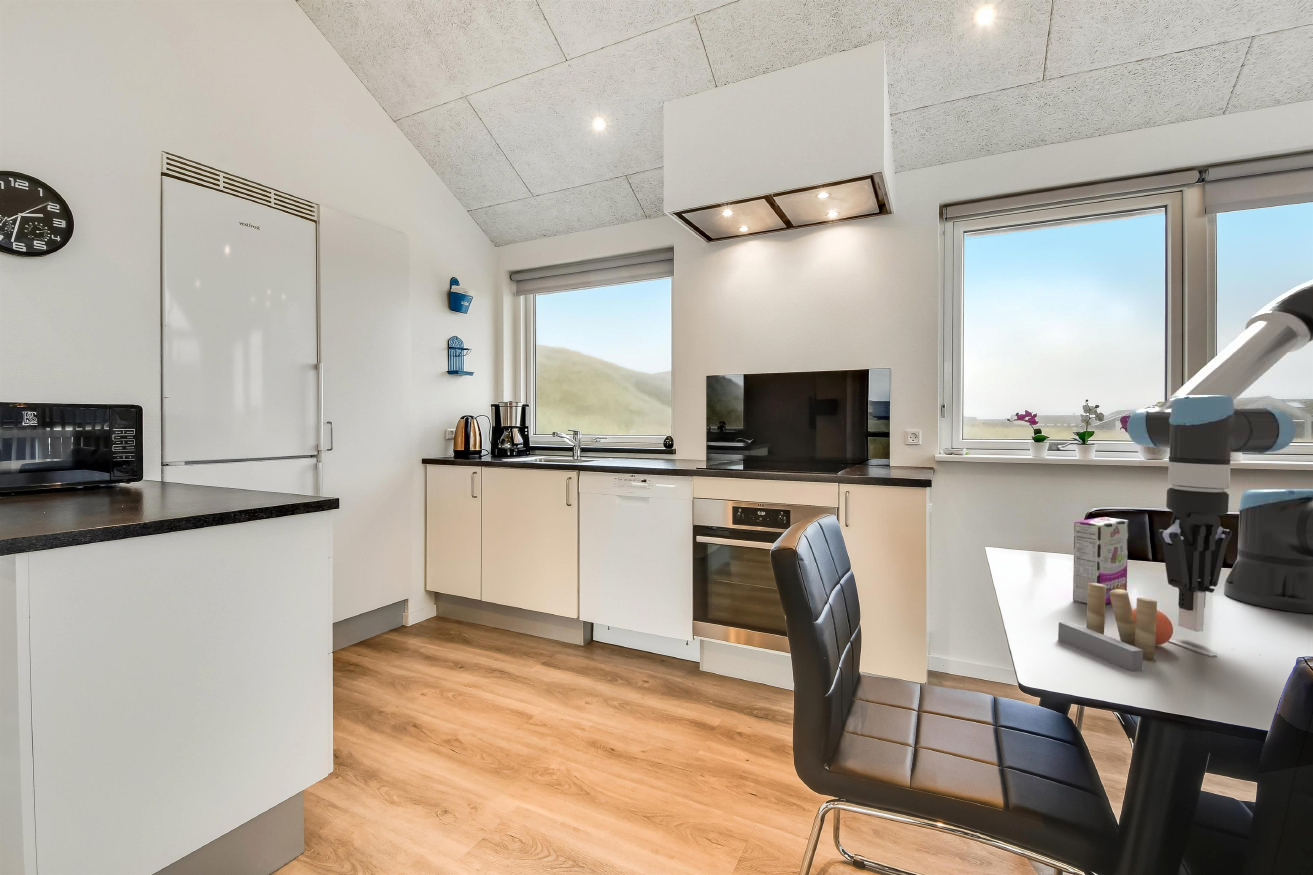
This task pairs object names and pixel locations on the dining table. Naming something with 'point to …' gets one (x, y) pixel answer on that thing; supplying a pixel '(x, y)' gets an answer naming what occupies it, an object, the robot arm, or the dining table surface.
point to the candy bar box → (1100, 556)
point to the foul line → (1191, 648)
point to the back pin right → (1096, 607)
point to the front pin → (1123, 616)
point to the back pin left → (1146, 627)
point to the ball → (1160, 627)
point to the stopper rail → (1101, 645)
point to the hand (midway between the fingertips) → (1190, 628)
